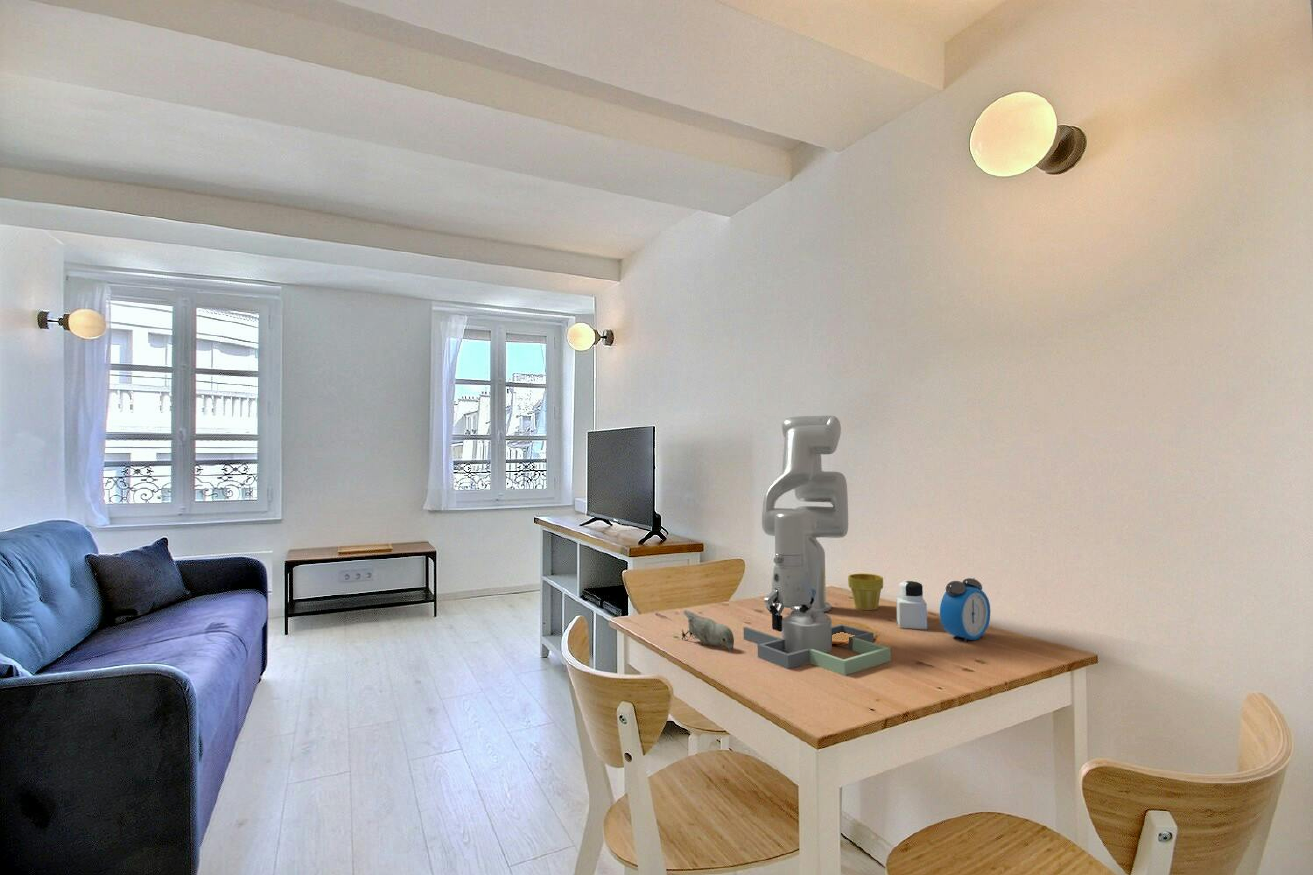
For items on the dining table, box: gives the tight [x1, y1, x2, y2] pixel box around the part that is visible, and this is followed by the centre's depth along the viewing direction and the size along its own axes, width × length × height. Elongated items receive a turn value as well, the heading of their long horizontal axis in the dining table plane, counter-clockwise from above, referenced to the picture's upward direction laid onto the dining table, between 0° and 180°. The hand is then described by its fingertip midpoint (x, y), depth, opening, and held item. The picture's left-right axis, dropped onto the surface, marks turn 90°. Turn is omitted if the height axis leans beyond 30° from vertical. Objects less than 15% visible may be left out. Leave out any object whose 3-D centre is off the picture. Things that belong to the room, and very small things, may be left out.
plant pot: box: [847, 572, 884, 611], centre depth 194 cm, size 10×10×10 cm
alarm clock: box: [939, 577, 991, 643], centre depth 162 cm, size 13×6×15 cm, turn 120°
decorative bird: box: [681, 610, 735, 652], centre depth 159 cm, size 5×16×7 cm, turn 44°
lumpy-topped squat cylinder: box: [781, 609, 833, 654], centre depth 156 cm, size 10×13×9 cm
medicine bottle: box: [895, 580, 928, 630], centre depth 174 cm, size 7×7×12 cm
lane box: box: [743, 623, 892, 676], centre depth 154 cm, size 33×30×3 cm
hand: (791, 627), depth 160 cm, fingers open, 9 cm apart
